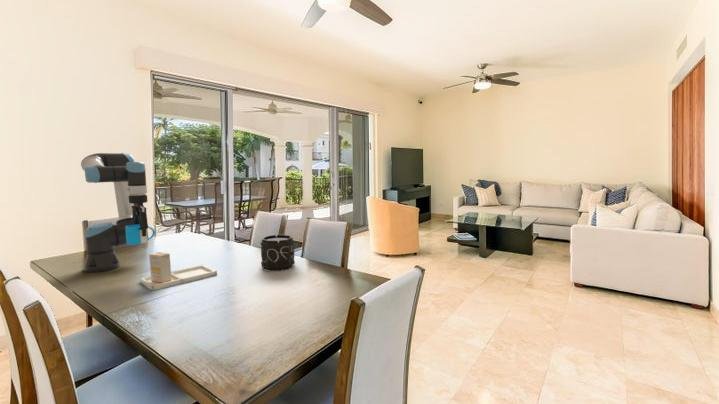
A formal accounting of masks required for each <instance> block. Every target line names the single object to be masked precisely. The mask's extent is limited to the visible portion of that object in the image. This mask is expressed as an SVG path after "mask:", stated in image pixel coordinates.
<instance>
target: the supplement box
mask: <svg viewBox="0 0 719 404" xmlns="http://www.w3.org/2000/svg"><path fill="white" fill-rule="evenodd" d="M148 255H149V267H150V268H149V269H150V276H151V281H152V282H157V283H164V282H169V281H172V280H171V271H172V270H171V269H172V267H171V254H170V253H167V252H161V251H157V252H153V253H149V254H148Z"/></svg>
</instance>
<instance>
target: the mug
mask: <svg viewBox="0 0 719 404" xmlns="http://www.w3.org/2000/svg"><path fill="white" fill-rule="evenodd" d="M139 228H140V224H138V225H129V226H125V229H126V242H127V244H129V245H130V246H132V245H133V246H134V245H135V246H136V245H142V244H143V243H141V240H140V230H139ZM147 229H149V230H151V232H152V234H151V236H150V237H147V241H150V240H151V239H153V237H154V236H155V234H156V231H155V229H154V228H153V227H151V226H148V228H147ZM129 245H128V246H129Z"/></svg>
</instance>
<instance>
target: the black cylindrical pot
mask: <svg viewBox="0 0 719 404" xmlns="http://www.w3.org/2000/svg"><path fill="white" fill-rule="evenodd" d="M294 244H295V241H294V239H293V236H291V235H289V234H277V235H276V234H272V235H267V236H263V237H262V238H261V240H260V256H261V262H260V265H261V267H262V268H263V270H265V271H268V270H269V272H274V271H275V272H280V271H281V270H282V271H285V270H286V269H287V270H290V269H291V268H293V267H294V265H295V263H296V262H295V245H294ZM292 266H293V267H292ZM289 268H290V269H289Z"/></svg>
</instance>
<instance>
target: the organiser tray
mask: <svg viewBox="0 0 719 404" xmlns="http://www.w3.org/2000/svg"><path fill="white" fill-rule="evenodd" d="M217 275H218V270H215V269H213V268H211V267H209V266H207V265H205V264H200V265H199V264H198V265H194V266H190V267H186V268H181V269H176V270H171V280H172V281H169V282H164V283H157V282H152V281H151V275H148V276H143V277H140V278H139V281H140V282H139V283H141V284H142V285H144V286H145V287H146V288H147V289H148V290H150V291H151V292H152V291H153V292H154V291H156V290H161V289H165V288H168V287H173V286H176V285H181V284H185V283H188V282H192V281H193V282H194V281H197V280H201V279H206V278H209V277H210V278H211V277H214V276H217Z"/></svg>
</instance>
